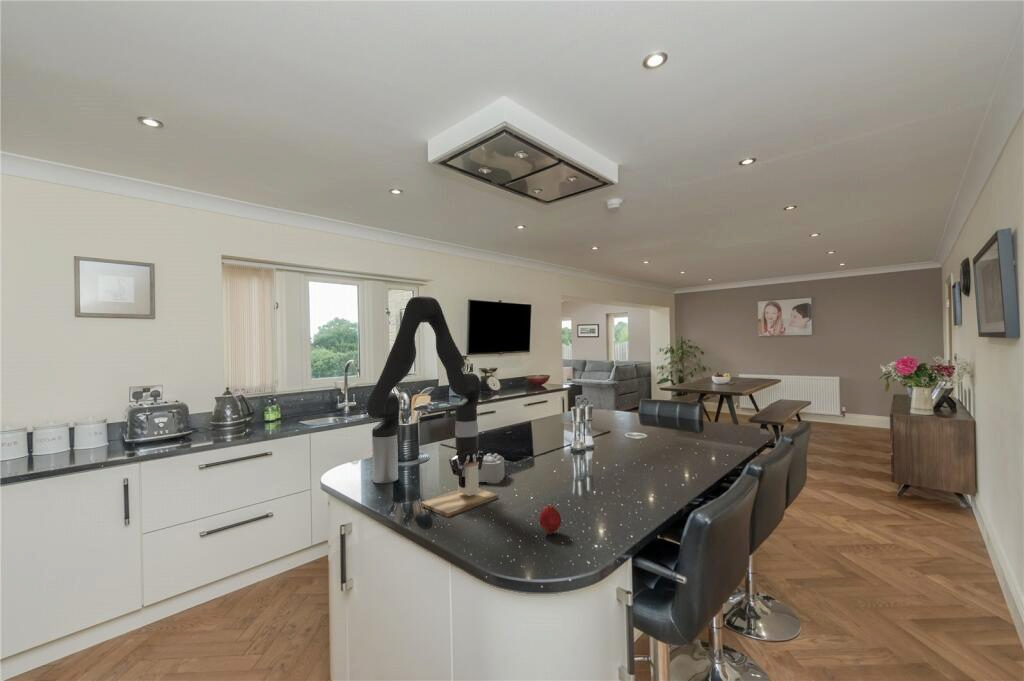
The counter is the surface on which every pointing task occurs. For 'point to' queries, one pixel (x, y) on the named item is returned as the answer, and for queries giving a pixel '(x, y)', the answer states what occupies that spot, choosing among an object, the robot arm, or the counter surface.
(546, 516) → the red strawberry
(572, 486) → the counter surface
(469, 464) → the block
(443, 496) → the board
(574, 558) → the counter surface
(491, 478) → the paw stamp
